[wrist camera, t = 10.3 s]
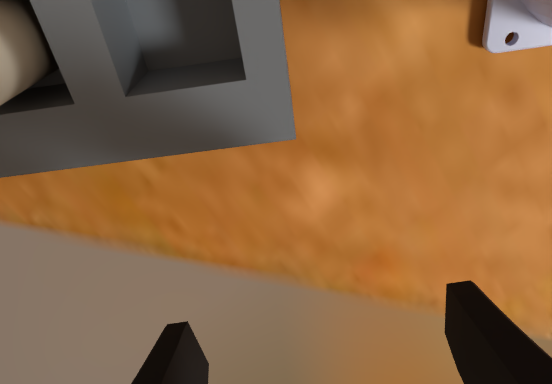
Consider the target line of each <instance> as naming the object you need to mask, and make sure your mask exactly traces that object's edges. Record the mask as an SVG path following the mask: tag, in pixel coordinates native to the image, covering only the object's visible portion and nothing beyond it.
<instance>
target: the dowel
mask: <svg viewBox="0 0 552 384" xmlns="http://www.w3.org/2000/svg"><path fill="white" fill-rule="evenodd" d="M57 69H59V66H58V64H57V62H56V60H55V57H54V55H53V53H52V50H51V48H50V46H49V43H48V41H47V39H46V37H45V34H44V32H43V30H42V27H41V25H40V23H39V20H38V18H37V16H36V14H35V11H34V9H33V7H32V4H31V2H30V0H0V105H2V104H4V103H5V102H7V101H8V100H10V99H11V98H13V97H15V96H16V95H18V94H19V93H21V92H23V91H24V90H26V89H27V88H29V87H30V86H32V85H34V84H35V83H37V82H38V81H40V80H42V79H43V78H45V77H46V76H48V75H49V74H51V73H53V72H54V71H56V70H57Z"/></svg>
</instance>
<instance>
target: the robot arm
mask: <svg viewBox="0 0 552 384" xmlns="http://www.w3.org/2000/svg"><path fill="white" fill-rule="evenodd" d="M511 32H513V33H514V36H513V39H512V40H511V41H510V42H508V43H505V38H506V36H507V35H508V34H509V33H511ZM482 44H483V47H484V48H485V49H486V50H488V51H489V52H491V53H501V52H508V51H515V50H522V49H529V48H536V47H543V46H551V45H552V0H488V2H487V10H486V17H485V24H484V32H483V39H482ZM445 335H446V338H447V340H448V344H449V346H450V349H451V352H452V355H453V358H454V361H455V364H456V366H457V369H458V372H459V374H460V376H461V378H462V380H463V382H464V384H552V358H551V357H550V356H549V355H548V354H547V353H546V352H544V351H543V350H542V349H541V348H540V347H539V346H538V345H537V344H536V343H535V342H534V341H533V340H531V339H530V338H529V337H528V336H527V335H526V334H525V333H524V332H523V331H522V330H521V329H520V328H519V327H517V326H516V325H515V324H514V323H513V322H512V321H511V320H510V319H509V318H508V317H507V316H506V315H505V314H504V313H503V312H502V311H501V310H500V309H499V308H498V307H497V306H496V305H495V304H494V303H493V302H492V301H491V300H490V299H489V298H488V297H487V296H486V295H485V294H484V293H483V292H482V291H481V290H480V289H479V287H478V286H477V285H476V284H475V283H473V282H472V281H463V282H456V283H449V284H447V288H446V313H445ZM208 369H209V363H208V361H207V360H206V358H205V356H204V353H203V351H202V349H201V347H200V345H199V343H198V341H197V339H196V337H195V335H194V333H193V331H192V329H191V327H190V325H189V323H188V321H187V322H180V323H174V324H167V326H166V327H165V328H164V330H163V332H162V333H161V335H160V337H159V339H158V340H157V342H156V344H155V346H154V347H153V349H152V350H151V352H150V354H149V355H148V357H147V359H146V360H145V362H144V364H143V365H142V367H141V369H140V370H139V372H138V374H137V376H136V377H135V379H134V380H133V382H132V383H131V384H208V371H209V370H208Z"/></svg>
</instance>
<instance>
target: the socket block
mask: <svg viewBox="0 0 552 384" xmlns="http://www.w3.org/2000/svg"><path fill="white" fill-rule="evenodd" d="M30 2H31V4H32V7H33V9H34V11H35V14H36V16H37V18H38V20H39V23H40V25H41V27H42V30H43V32H44V34H45V37H46V39H47V41H48V43H49V46H50V48H51V50H52V53H53V55H54V57H55V60H56V62H57V64H58V66H59V69H57V70H56V71H54V72H53V73H51V74H49V75H48V76H46V77H45V78H43V79H42V80H40V81H38V82H37V83H35V84H34V85H32V86H30V87H29V88H27V89H26V90H24V91H23V92H21V93H19V94H18V95H16V96H15V97H13V98H11V99H10V100H8V101H7V102H5V103H4V104H2V105H0V178H1V177H9V176H16V175H24V174H32V173H39V172H47V171H55V170H63V169H70V168H78V167H86V166H93V165H101V164H109V163H116V162H124V161H132V160H139V159H147V158H155V157H162V156H170V155H178V154H185V153H193V152H201V151H209V150H216V149H224V148H232V147H239V146H247V145H255V144H262V143H270V142H278V141H285V140H293V139H296V134H295V125H294V116H293V107H292V98H291V90H290V82H289V74H288V66H287V58H286V50H285V42H284V33H283V25H282V17H281V9H280V1H279V0H30Z"/></svg>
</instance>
